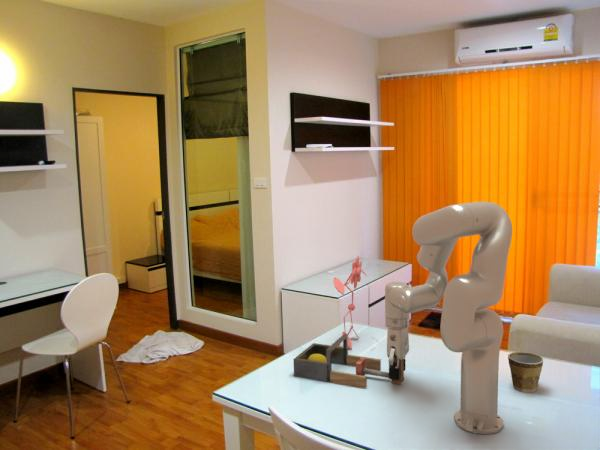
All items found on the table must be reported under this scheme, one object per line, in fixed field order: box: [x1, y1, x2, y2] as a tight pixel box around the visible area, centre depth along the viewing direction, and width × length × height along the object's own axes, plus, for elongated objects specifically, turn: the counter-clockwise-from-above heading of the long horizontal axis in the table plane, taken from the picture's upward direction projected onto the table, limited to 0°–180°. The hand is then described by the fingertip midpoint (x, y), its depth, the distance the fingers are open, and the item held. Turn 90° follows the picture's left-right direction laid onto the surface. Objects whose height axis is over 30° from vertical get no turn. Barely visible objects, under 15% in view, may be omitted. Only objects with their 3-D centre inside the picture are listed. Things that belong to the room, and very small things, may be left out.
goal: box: [293, 333, 349, 383], centre depth 180 cm, size 16×13×11 cm
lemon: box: [307, 354, 327, 363], centre depth 181 cm, size 6×6×8 cm
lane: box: [329, 354, 382, 389], centre depth 175 cm, size 16×12×4 cm
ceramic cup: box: [507, 351, 544, 394], centre depth 163 cm, size 13×10×10 cm
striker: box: [355, 356, 405, 385], centre depth 171 cm, size 6×15×9 cm, turn 64°
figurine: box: [333, 255, 379, 351], centre depth 202 cm, size 15×26×35 cm, turn 157°
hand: (397, 374), depth 169 cm, fingers open, 7 cm apart
